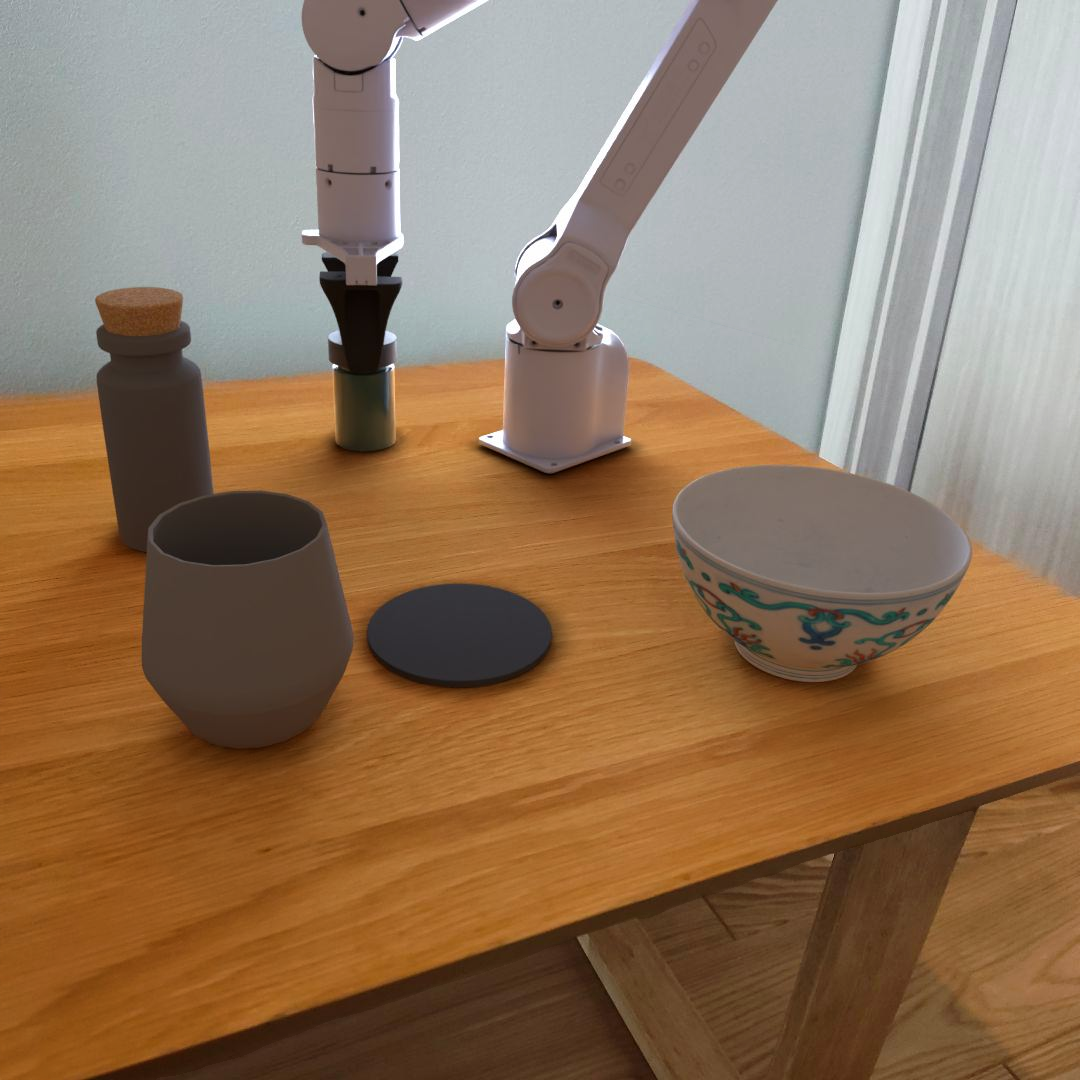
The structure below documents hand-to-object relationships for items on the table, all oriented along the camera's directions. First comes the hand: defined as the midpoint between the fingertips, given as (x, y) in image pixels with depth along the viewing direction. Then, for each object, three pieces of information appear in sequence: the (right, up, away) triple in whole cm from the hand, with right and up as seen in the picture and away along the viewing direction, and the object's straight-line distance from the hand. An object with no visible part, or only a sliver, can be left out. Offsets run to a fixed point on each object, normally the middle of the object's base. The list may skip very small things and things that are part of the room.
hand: (363, 359), depth 79 cm
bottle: (-10, -13, -12) cm, 21 cm away
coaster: (+9, -19, -22) cm, 30 cm away
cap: (0, +1, -1) cm, 1 cm away
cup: (0, -22, -29) cm, 36 cm away
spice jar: (0, -6, +3) cm, 6 cm away
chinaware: (+27, -20, -21) cm, 40 cm away
